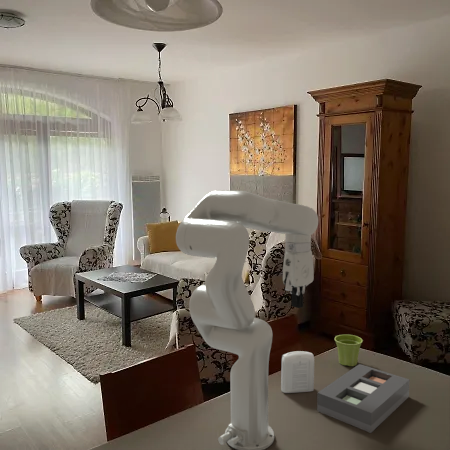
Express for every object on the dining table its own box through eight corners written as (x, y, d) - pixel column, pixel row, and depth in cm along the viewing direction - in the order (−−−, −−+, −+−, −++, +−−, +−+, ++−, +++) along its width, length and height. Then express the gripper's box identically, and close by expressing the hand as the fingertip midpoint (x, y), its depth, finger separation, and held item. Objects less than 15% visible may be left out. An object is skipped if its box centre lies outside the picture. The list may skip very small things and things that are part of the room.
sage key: (355, 415, 123) (355, 409, 123) (337, 407, 127) (337, 402, 127) (364, 407, 127) (365, 401, 127) (346, 400, 131) (347, 395, 131)
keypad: (370, 433, 119) (371, 413, 118) (317, 411, 129) (317, 392, 129) (408, 396, 137) (409, 379, 136) (358, 380, 148) (359, 363, 147)
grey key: (369, 400, 129) (369, 395, 129) (351, 393, 133) (351, 388, 132) (377, 392, 133) (378, 387, 133) (360, 386, 136) (360, 382, 136)
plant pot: (328, 360, 163) (329, 336, 162) (349, 355, 167) (350, 332, 166) (345, 370, 154) (346, 346, 153) (367, 365, 158) (368, 341, 157)
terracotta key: (381, 393, 135) (381, 388, 135) (363, 387, 138) (364, 382, 138) (389, 386, 139) (389, 381, 138) (372, 380, 142) (372, 376, 142)
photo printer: (311, 385, 144) (311, 347, 143) (315, 392, 140) (316, 353, 139) (279, 388, 143) (279, 350, 141) (283, 394, 139) (283, 355, 137)
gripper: (293, 252, 129) (292, 315, 131) (322, 245, 140) (321, 303, 142) (272, 249, 134) (272, 309, 137) (302, 242, 145) (301, 299, 147)
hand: (297, 306), depth 139 cm, fingers closed
